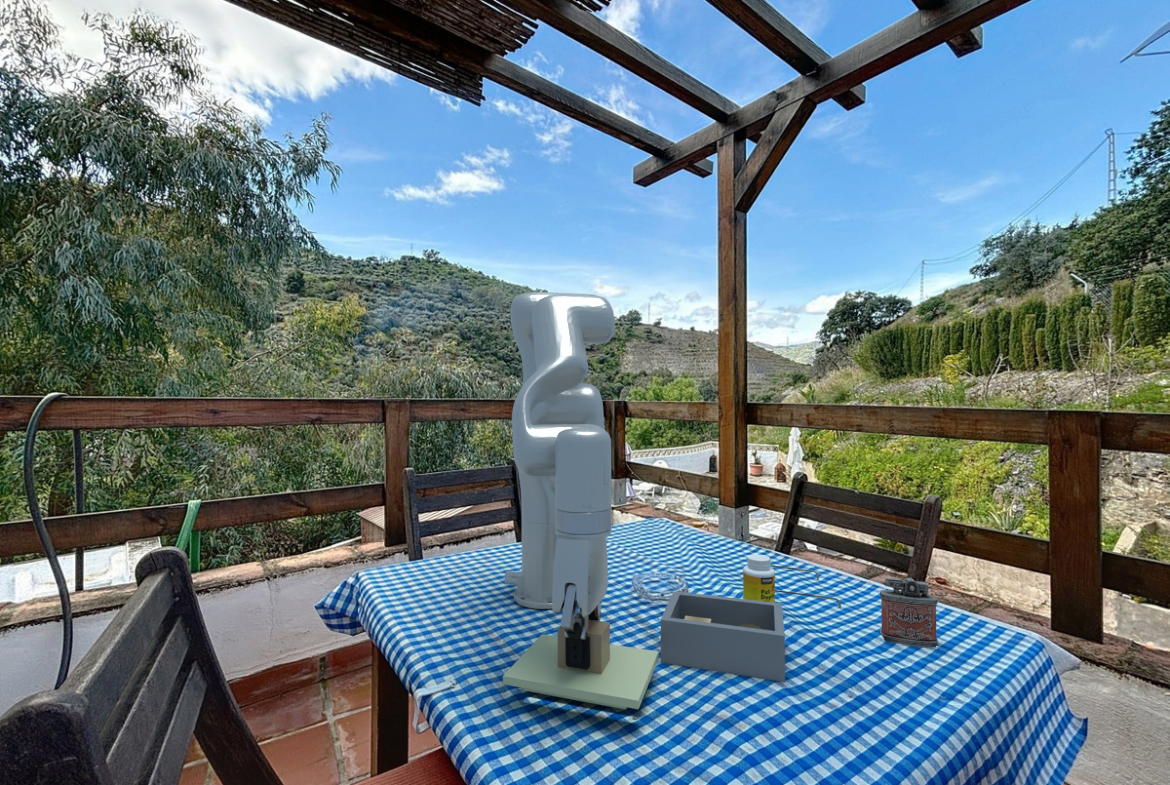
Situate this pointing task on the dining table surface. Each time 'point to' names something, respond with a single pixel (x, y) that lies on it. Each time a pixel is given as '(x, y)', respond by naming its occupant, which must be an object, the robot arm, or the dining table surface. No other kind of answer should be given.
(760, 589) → the supplement bottle
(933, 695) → the dining table surface
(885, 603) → the lighter
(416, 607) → the dining table surface
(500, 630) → the dining table surface
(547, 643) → the lid
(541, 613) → the dining table surface
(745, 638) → the tub
